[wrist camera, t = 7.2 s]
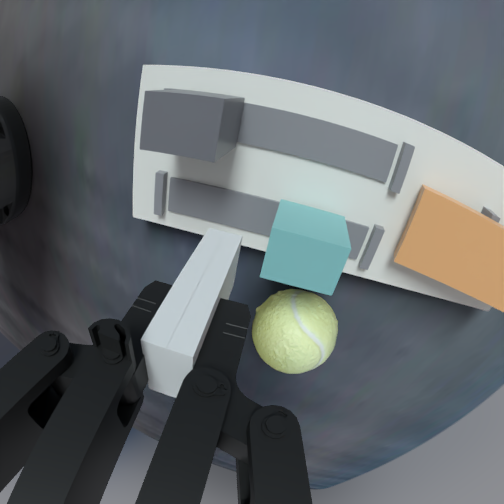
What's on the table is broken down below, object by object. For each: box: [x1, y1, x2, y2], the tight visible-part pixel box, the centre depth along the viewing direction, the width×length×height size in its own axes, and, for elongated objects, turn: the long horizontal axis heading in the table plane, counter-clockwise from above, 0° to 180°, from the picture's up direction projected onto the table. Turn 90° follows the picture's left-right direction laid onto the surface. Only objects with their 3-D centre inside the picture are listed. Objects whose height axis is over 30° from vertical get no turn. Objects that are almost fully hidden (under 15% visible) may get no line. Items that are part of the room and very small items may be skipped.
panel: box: [133, 65, 504, 311], centre depth 17 cm, size 30×11×3 cm, turn 79°
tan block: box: [394, 184, 504, 312], centre depth 14 cm, size 12×5×1 cm, turn 78°
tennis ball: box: [252, 289, 338, 374], centre depth 22 cm, size 6×7×7 cm
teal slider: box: [260, 199, 351, 296], centre depth 16 cm, size 4×3×4 cm
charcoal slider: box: [140, 89, 245, 162], centre depth 14 cm, size 4×3×4 cm
